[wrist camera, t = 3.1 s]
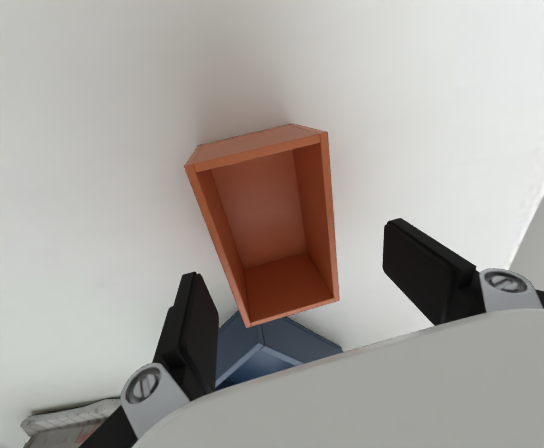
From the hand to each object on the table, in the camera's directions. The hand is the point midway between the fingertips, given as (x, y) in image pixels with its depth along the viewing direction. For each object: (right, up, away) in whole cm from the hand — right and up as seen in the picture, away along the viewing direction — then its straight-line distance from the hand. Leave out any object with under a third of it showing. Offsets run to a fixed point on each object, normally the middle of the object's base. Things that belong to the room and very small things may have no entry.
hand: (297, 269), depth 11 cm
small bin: (-2, +4, +7) cm, 8 cm away
